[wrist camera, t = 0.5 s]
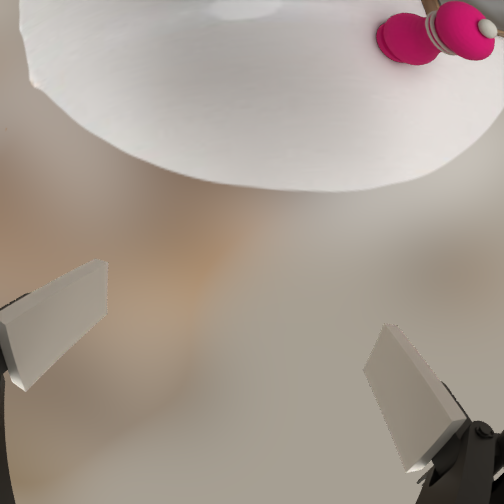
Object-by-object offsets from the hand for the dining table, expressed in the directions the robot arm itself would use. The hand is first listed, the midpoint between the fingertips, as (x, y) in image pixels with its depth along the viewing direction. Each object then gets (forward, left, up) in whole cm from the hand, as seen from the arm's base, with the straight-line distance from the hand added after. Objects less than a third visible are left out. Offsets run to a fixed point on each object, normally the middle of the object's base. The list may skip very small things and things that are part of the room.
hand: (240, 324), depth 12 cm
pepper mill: (-12, +23, -29) cm, 39 cm away
